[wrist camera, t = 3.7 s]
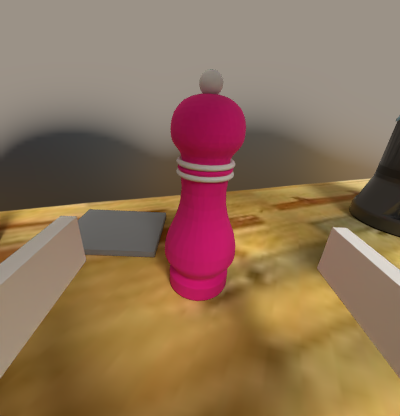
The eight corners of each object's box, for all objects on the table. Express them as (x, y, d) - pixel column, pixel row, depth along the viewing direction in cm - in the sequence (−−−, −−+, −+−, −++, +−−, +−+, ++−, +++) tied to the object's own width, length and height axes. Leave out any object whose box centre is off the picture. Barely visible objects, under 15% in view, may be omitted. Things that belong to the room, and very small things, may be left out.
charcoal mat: (166, 216, 37) (166, 212, 36) (154, 257, 27) (154, 251, 26) (90, 213, 36) (89, 209, 36) (49, 253, 26) (48, 247, 26)
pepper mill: (153, 274, 24) (142, 65, 15) (200, 251, 28) (213, 78, 20) (193, 319, 19) (210, 51, 11) (243, 283, 24) (283, 73, 15)
